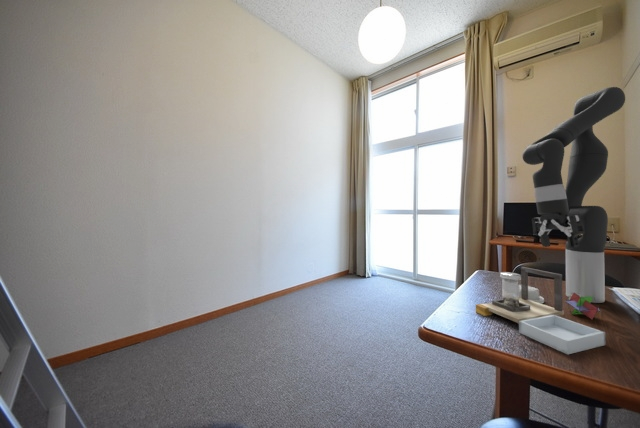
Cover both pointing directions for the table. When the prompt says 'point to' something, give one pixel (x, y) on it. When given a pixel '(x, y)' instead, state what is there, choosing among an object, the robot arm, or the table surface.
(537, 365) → the table surface
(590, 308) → the geometric puzzle
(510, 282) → the pin
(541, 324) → the tray
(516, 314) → the dolly
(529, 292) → the mechanical component
